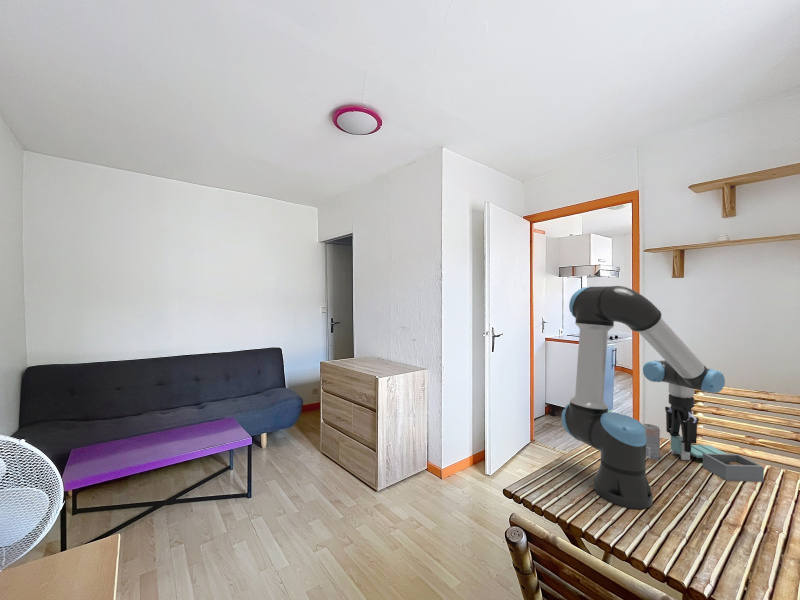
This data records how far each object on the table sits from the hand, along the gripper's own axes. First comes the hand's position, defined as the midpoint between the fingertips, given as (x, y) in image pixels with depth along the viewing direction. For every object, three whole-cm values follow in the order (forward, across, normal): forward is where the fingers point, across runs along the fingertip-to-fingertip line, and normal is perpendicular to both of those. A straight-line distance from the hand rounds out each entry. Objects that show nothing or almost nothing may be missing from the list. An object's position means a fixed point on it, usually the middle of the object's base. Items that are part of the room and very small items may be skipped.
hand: (680, 456), depth 129 cm
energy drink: (+1, 0, +11) cm, 11 cm away
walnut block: (0, -11, -10) cm, 15 cm away
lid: (-1, 0, -6) cm, 6 cm away
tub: (+1, -12, -8) cm, 14 cm away
